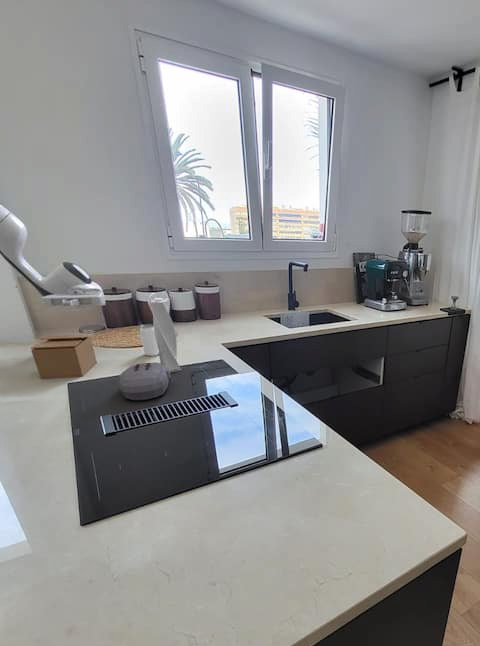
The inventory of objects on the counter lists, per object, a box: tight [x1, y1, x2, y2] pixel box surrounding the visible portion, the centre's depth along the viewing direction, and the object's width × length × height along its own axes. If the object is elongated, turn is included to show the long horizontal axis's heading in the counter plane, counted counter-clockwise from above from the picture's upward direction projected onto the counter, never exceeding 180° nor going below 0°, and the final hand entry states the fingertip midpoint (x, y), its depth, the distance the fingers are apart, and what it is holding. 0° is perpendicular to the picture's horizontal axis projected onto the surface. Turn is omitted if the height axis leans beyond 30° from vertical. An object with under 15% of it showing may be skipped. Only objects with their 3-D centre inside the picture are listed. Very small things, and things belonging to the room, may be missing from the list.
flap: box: [39, 334, 91, 341], centre depth 143 cm, size 7×13×1 cm, turn 105°
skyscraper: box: [147, 292, 183, 374], centre depth 143 cm, size 8×8×28 cm
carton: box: [30, 336, 98, 380], centre depth 142 cm, size 15×13×11 cm
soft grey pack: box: [118, 362, 172, 401], centre depth 128 cm, size 15×8×20 cm
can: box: [139, 323, 159, 357], centre depth 162 cm, size 6×6×12 cm
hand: (66, 304), depth 146 cm, fingers closed
